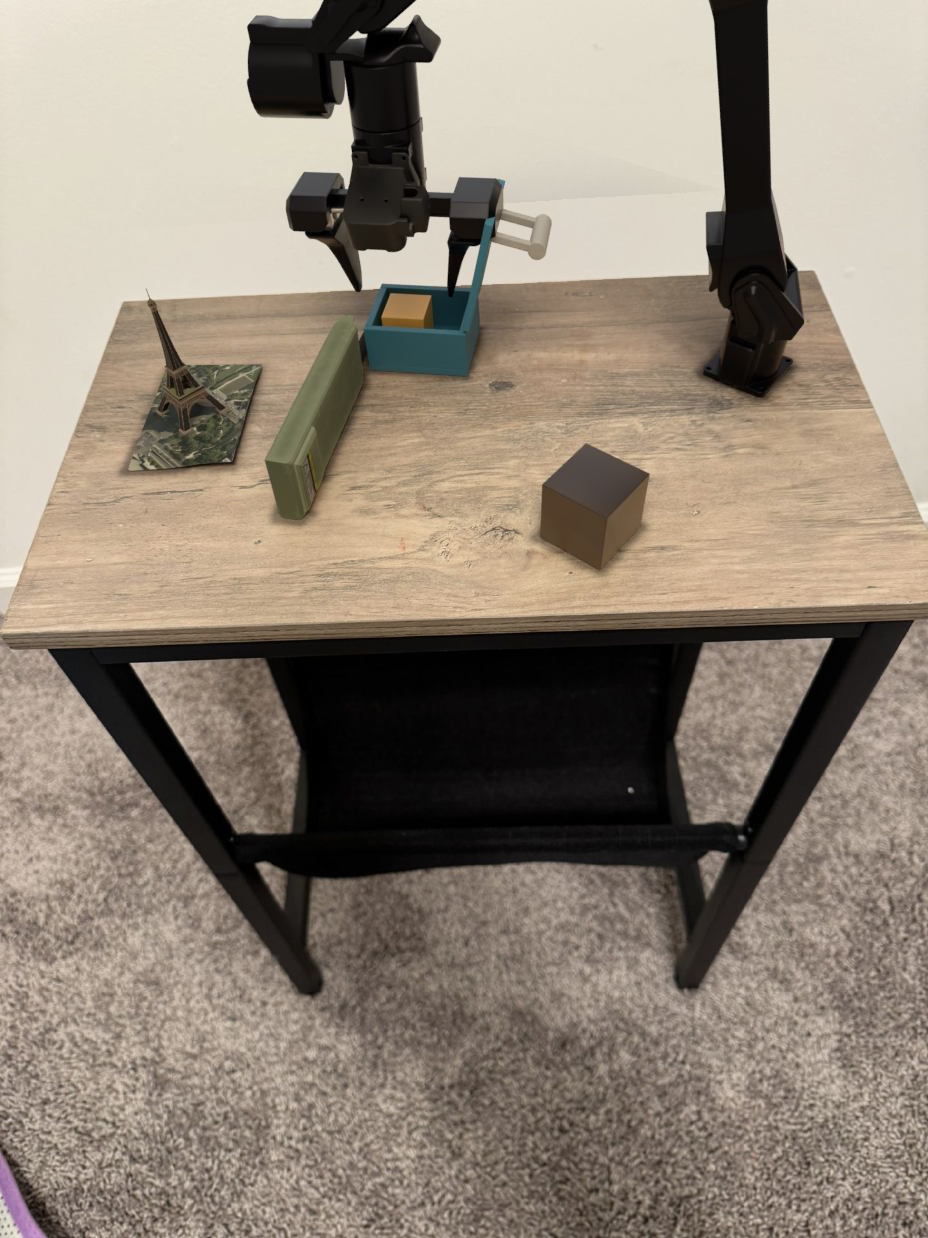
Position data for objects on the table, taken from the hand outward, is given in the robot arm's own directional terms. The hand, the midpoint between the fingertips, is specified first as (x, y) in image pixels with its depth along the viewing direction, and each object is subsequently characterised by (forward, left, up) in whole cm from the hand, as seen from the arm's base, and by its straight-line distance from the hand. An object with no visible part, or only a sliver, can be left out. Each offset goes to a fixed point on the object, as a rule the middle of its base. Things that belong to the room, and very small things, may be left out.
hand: (405, 292), depth 80 cm
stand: (+10, +29, -6) cm, 32 cm away
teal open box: (-1, +1, -6) cm, 7 cm away
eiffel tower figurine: (+20, -10, -6) cm, 23 cm away
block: (0, 0, -6) cm, 6 cm away
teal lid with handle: (-4, +6, +4) cm, 8 cm away
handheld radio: (+13, +2, -6) cm, 15 cm away
